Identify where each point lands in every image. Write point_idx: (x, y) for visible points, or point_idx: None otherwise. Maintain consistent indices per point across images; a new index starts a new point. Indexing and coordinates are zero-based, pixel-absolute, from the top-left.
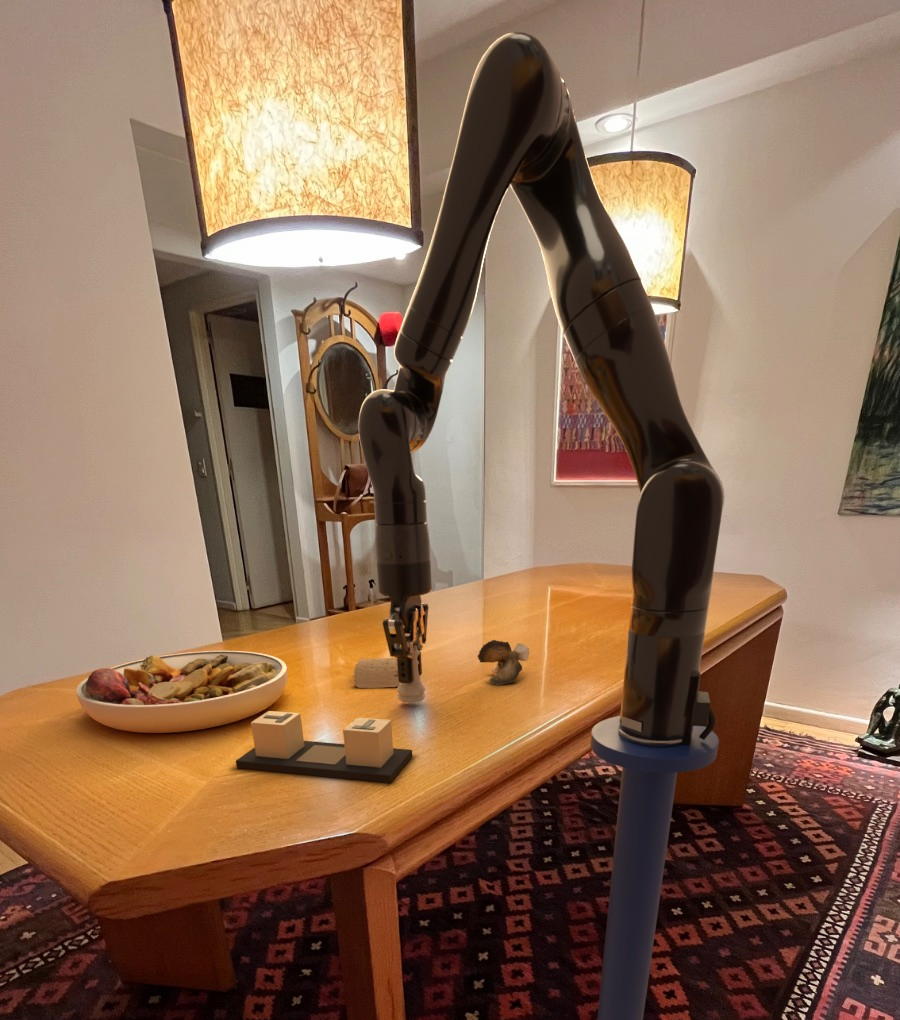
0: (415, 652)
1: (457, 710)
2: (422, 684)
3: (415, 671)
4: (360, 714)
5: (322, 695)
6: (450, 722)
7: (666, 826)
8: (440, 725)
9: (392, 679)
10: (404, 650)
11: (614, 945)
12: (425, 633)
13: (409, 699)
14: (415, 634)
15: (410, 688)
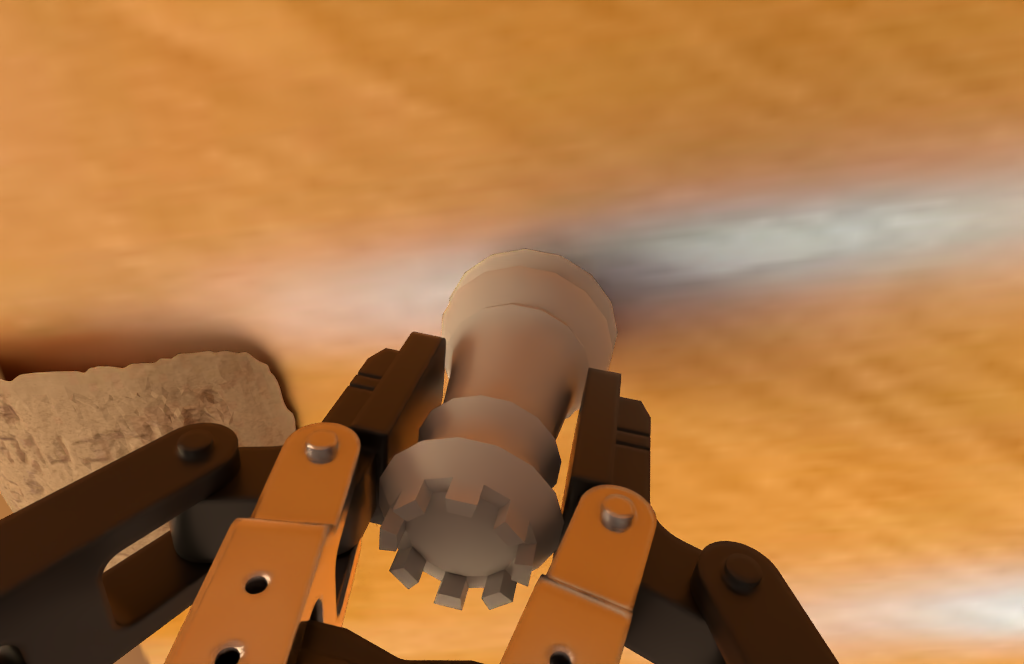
0: (509, 479)
1: (652, 10)
2: (491, 297)
3: (536, 387)
4: (702, 511)
5: (452, 642)
6: (913, 26)
7: None
8: (964, 91)
9: (242, 438)
10: (806, 625)
11: None
12: (134, 477)
13: (615, 335)
14: (548, 636)
15: (591, 360)
